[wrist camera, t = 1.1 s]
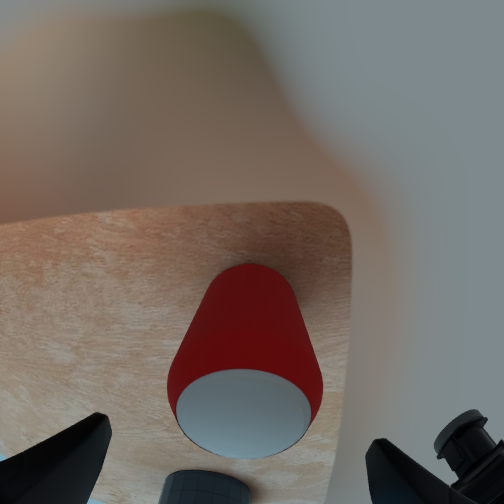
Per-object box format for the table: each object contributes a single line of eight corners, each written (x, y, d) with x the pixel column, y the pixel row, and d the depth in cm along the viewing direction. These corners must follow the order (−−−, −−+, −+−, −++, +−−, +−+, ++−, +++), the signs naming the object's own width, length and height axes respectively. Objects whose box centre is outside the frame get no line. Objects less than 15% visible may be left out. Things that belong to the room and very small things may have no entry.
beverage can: (307, 318, 21) (351, 440, 9) (232, 351, 21) (213, 481, 10) (270, 244, 20) (289, 321, 8) (190, 283, 20) (121, 387, 9)
